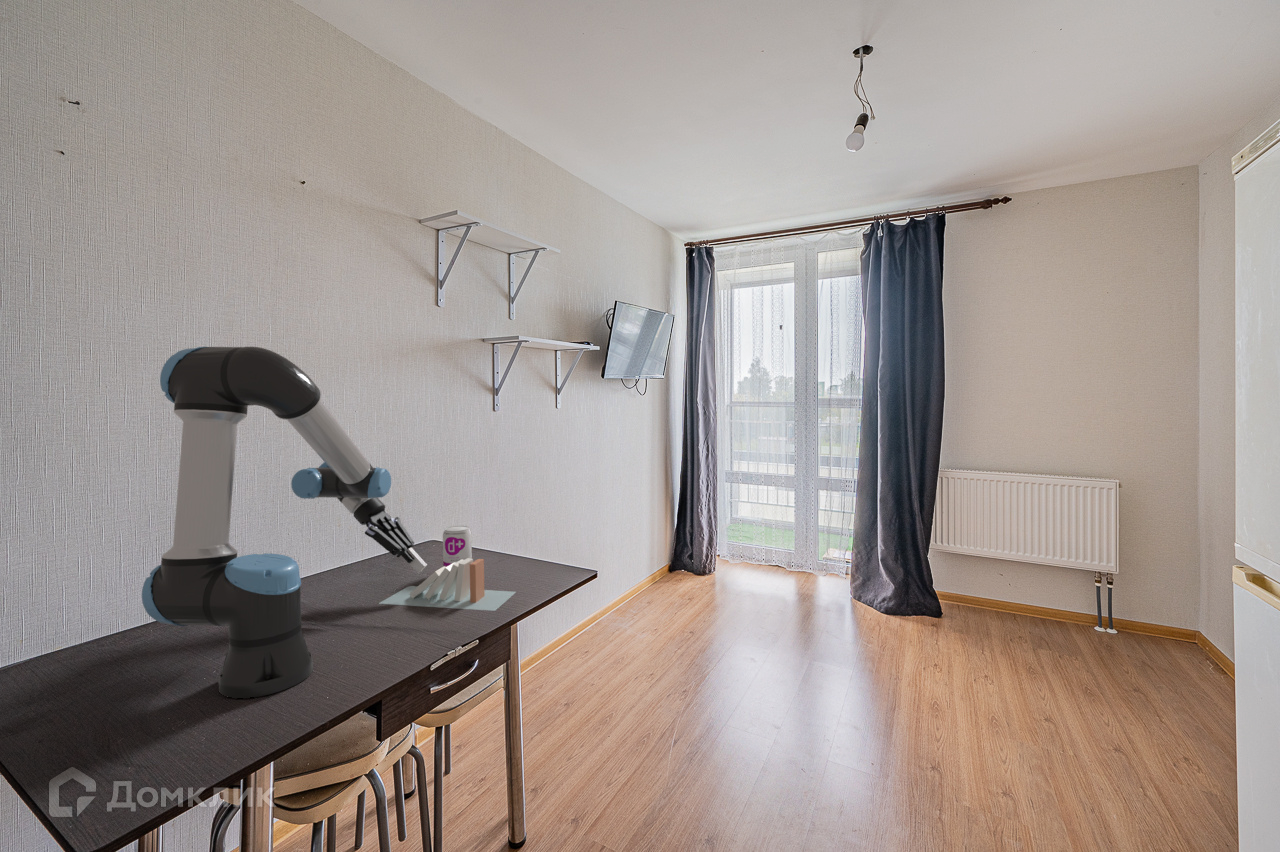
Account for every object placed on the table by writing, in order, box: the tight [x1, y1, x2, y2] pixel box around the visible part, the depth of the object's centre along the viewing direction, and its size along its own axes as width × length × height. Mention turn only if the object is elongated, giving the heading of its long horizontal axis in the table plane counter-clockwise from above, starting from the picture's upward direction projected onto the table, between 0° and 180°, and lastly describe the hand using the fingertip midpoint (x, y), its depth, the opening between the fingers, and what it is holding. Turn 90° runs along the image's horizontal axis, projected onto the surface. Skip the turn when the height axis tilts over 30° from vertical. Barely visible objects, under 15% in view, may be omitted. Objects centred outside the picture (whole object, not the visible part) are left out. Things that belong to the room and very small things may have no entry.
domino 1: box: [409, 566, 445, 599], centre depth 150 cm, size 2×5×10 cm
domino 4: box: [454, 558, 474, 602], centre depth 148 cm, size 2×5×10 cm, turn 171°
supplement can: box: [442, 525, 473, 567], centre depth 170 cm, size 8×8×15 cm
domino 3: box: [439, 559, 463, 601], centre depth 149 cm, size 2×5×10 cm, turn 172°
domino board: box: [378, 585, 517, 612], centre depth 149 cm, size 14×32×1 cm, turn 80°
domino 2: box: [424, 562, 455, 600], centre depth 149 cm, size 2×5×10 cm
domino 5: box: [470, 558, 485, 603], centre depth 147 cm, size 2×5×10 cm, turn 170°
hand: (422, 568), depth 150 cm, fingers closed
